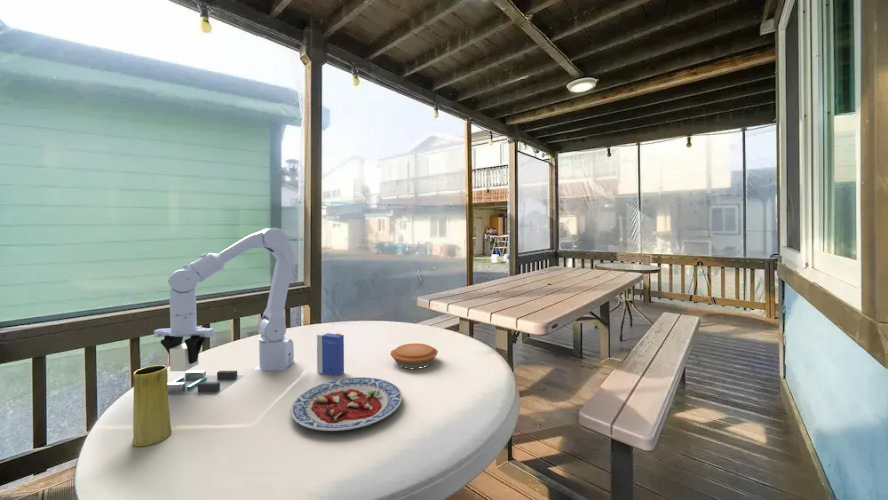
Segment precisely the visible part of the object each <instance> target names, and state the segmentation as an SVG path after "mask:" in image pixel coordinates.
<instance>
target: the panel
mask: <svg viewBox="0 0 888 500" xmlns="http://www.w3.org/2000/svg"><path fill="white" fill-rule="evenodd" d="M206 377H207V380H205V381H203V382H220V390H219V391H217V392H198V385H197V386H195V387H194V388H192V389H190V390H187V386H189V385H191V384H192V383H194V382H196V381H198V380H199V379H191V380H185V377H184V380H182V381H181V382H179V383H182V382H186V390H185V391H183V392H168V396H173V395H174V396H185V395H187V396H188V395H193V396H194V395H197V396H198V395H199V396H200V395H211V396H213V395H219V394H220V393H221V392H223V391H224V390H226V389H227V388H228V387H229V386H232V384H234V383H236V382H237V381H238V380H239V379H241V378H243V377H244V375H242V374H241V375H240V374H239V375H238V374H237V378H236V379H217V374H216V375H206Z"/></svg>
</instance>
